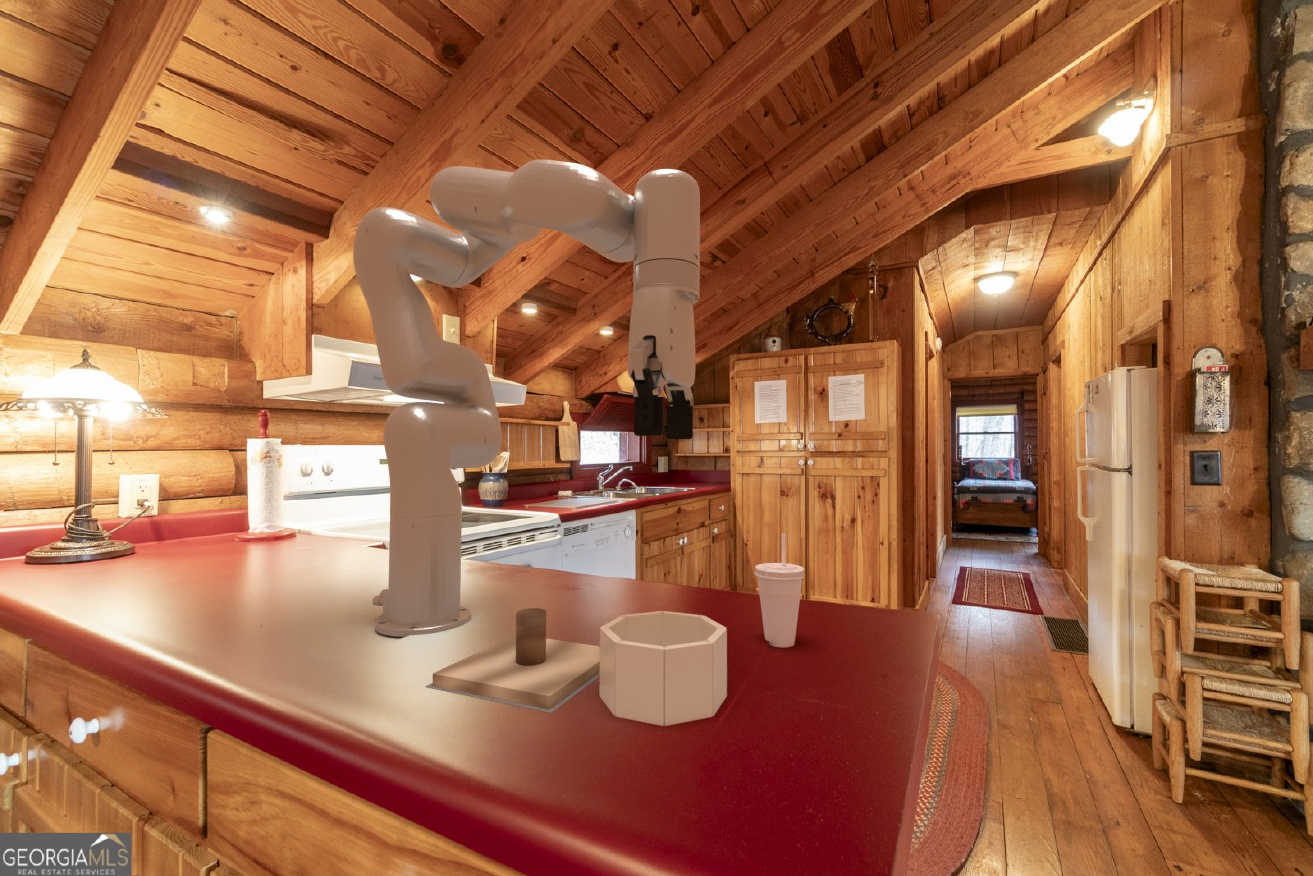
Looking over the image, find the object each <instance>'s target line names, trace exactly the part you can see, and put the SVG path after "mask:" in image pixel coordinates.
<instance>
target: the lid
mask: <svg viewBox="0 0 1313 876" xmlns="http://www.w3.org/2000/svg"><path fill="white" fill-rule="evenodd" d="M515 617H516V618H515V634H514V635H512V636H509V637H507V638H505V639H504V640H502V641H499V642H497V643H495V644H493V645H491V646H489V647H487V648H484V649H482V650H480V651H478V652H475V653H474V654H471V655H469V656H467V657H465V658H463V659H460V660H459V661H457V662H454V663H452V664H450V665H448V666H446V667H444V668H441V669H440V670H437V671H435V672H433V673H432V683H433V685H432V686H437V687H442V688H447V689H452V690H457V691H462V692H467V693H472V694H476V695H481V696H486V697H491V698H496V699H501V700H506V701H511V702H516V703H520V704H525V705H530V706H535V707H540V708H545V709H551V708H552V707H554V706H555V705H556V704H558V703H559V702H560V701H562V700H563V699H564V698H566V697H567V696H568V695H570V694H571V693H573V692H574V691H575V690H577V689H578V688H579V687H581V686H582V685H583V684H585V683H586V682H587V681H589V680H590V679H591V678H593V677H594V676H595V675H597V674H598V673H600V645H592V644H587V643H586V644H585V643H581V642H573V641H566V640H561V639H559V640H558V639H552V638H547V610H546V609H544V608H539V607H535V608H534V607H530V608H522V609H519V610H517V611H516V614H515Z"/></svg>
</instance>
